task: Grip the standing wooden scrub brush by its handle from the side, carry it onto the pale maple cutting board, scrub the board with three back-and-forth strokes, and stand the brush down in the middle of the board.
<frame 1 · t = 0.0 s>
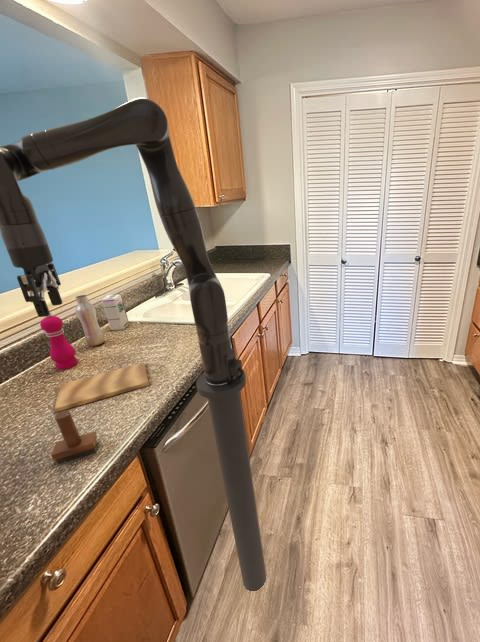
hand: (51, 310, 80), 29 cm above the countertop, tool pointing down, fingers open, 8 cm apart
cutting board: (105, 386, 100), on the countertop
plastic bottle: (96, 344, 129), on the countertop
scrub brush: (78, 452, 75), on the countertop
pepper mill: (67, 365, 114), on the countertop
syrup box: (120, 327, 143), on the countertop
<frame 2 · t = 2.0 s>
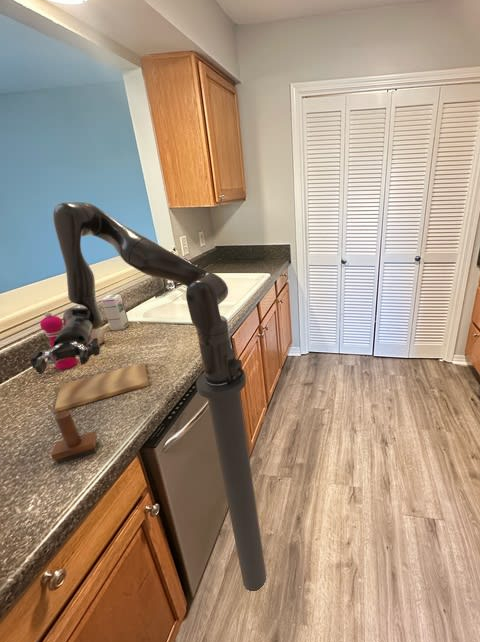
hand: (61, 365, 76), 18 cm above the countertop, tool horizontal, fingers open, 8 cm apart
nothing on the countertop moved.
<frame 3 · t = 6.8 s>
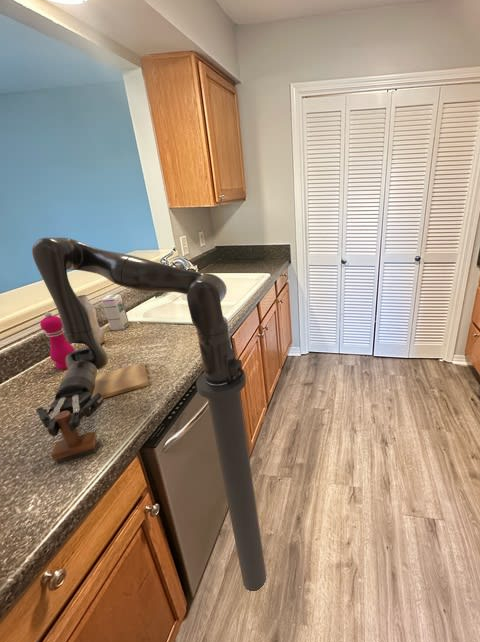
hand: (62, 430, 69), 9 cm above the countertop, tool horizontal, fingers closed on scrub brush, 3 cm apart
scrub brush: (78, 452, 75), on the countertop, touching gripper
everything else where it was.
when the fingers open (10 cm above the countertop, at t = 24.2 s): scrub brush stays where it is, resting on cutting board.
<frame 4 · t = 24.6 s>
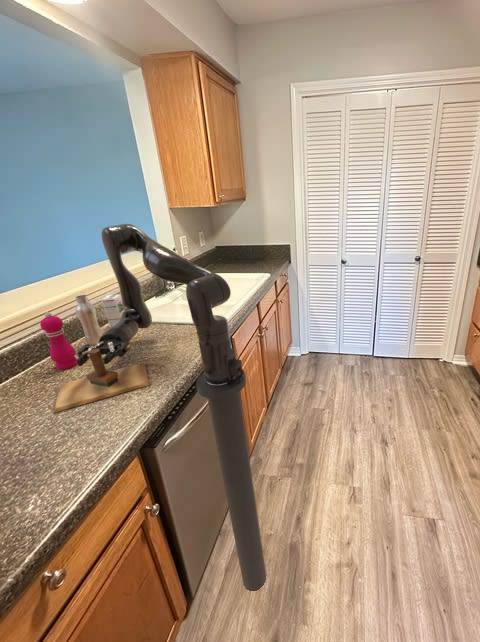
hand: (91, 362, 94), 10 cm above the countertop, tool horizontal, fingers open, 7 cm apart
scrub brush: (104, 382, 100), point 1 cm above the countertop, touching cutting board
everything else where it was.
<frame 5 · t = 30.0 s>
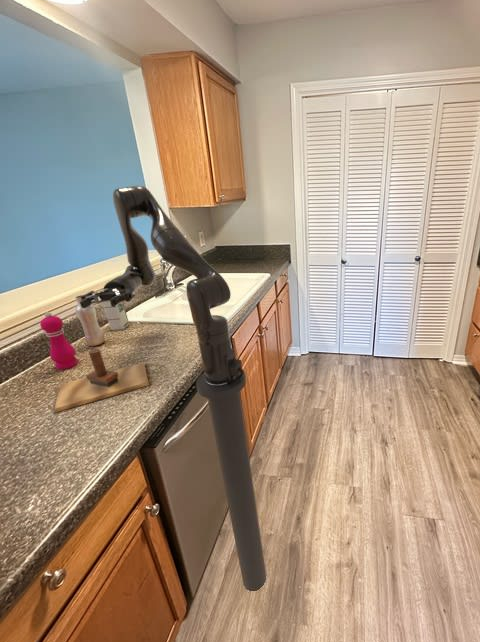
hand: (97, 304, 96), 25 cm above the countertop, tool horizontal, fingers open, 8 cm apart
nothing on the countertop moved.
at the end: scrub brush inside the target area on the cutting board (0.5 cm from its centre), point 1.2 cm above the cutting board's base; scrub brush tilted 0°; the gripper is holding nothing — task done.
